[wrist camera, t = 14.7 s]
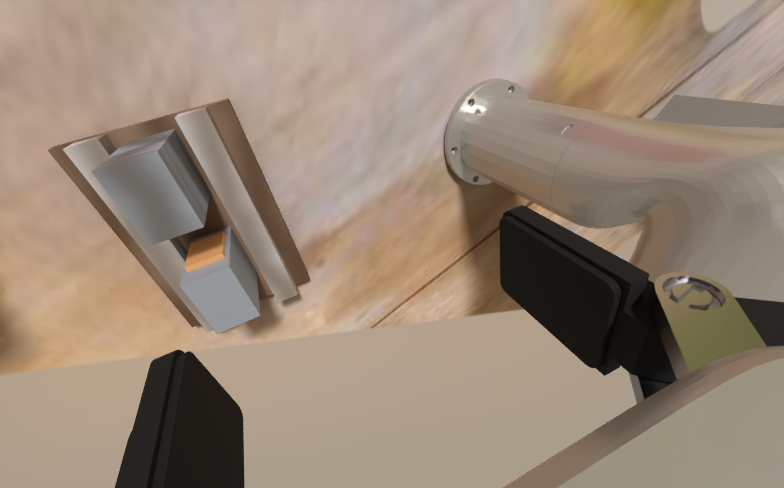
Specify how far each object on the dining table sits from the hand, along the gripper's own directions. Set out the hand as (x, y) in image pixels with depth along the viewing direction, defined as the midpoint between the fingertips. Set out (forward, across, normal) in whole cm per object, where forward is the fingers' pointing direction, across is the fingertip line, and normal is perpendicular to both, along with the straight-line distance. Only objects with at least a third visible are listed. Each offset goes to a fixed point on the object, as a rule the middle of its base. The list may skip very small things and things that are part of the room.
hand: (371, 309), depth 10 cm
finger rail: (+28, +10, +7) cm, 31 cm away
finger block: (+27, +10, +10) cm, 31 cm away
